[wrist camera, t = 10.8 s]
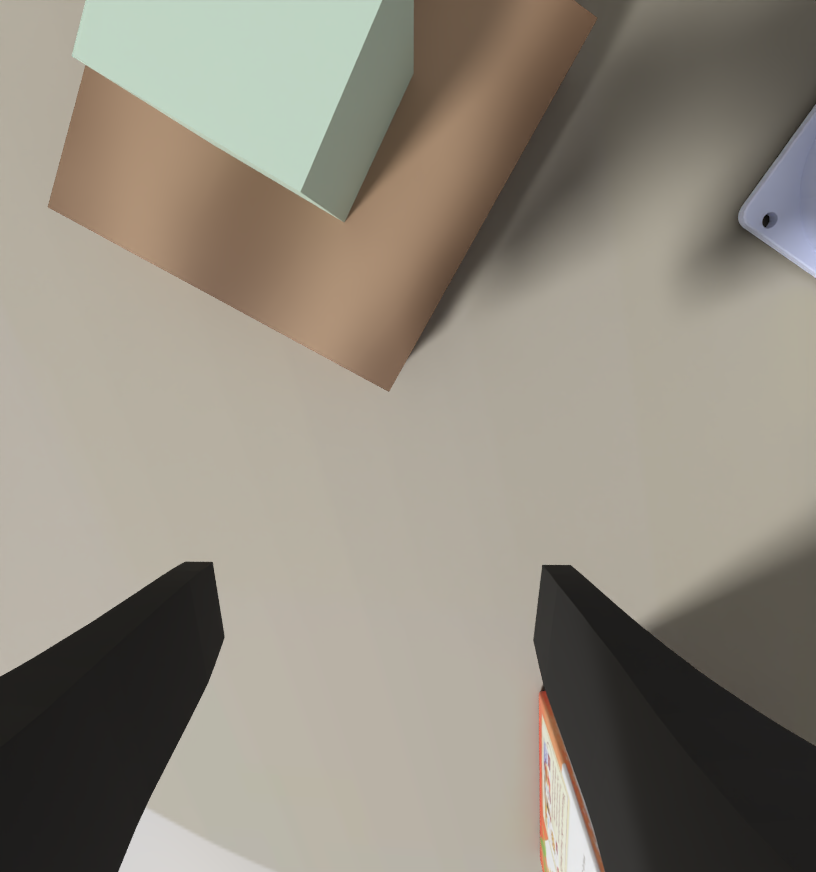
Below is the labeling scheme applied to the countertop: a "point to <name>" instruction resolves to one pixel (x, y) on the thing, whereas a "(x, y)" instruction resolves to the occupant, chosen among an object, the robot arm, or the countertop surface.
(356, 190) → the sage block
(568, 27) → the walnut block
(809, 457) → the countertop surface
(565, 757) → the cracker box
